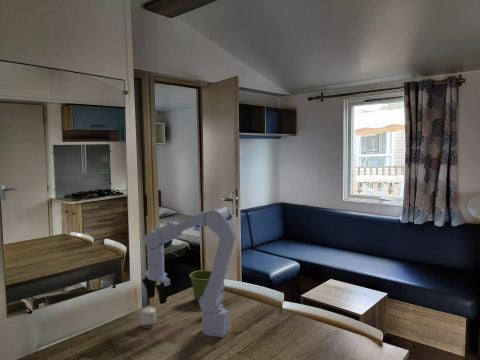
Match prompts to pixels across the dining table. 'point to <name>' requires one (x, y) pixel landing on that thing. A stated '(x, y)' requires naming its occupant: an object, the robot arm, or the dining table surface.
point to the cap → (147, 315)
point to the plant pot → (200, 282)
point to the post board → (160, 332)
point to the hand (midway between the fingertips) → (157, 300)
